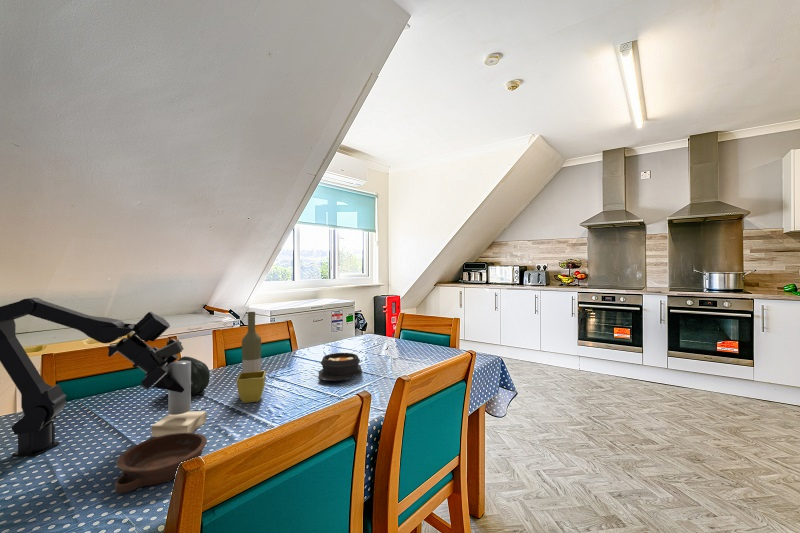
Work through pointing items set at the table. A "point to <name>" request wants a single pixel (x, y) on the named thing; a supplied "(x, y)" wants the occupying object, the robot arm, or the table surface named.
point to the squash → (197, 374)
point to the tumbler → (182, 374)
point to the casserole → (339, 367)
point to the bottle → (251, 347)
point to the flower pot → (251, 386)
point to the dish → (157, 459)
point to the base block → (179, 423)
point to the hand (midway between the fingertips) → (185, 387)
